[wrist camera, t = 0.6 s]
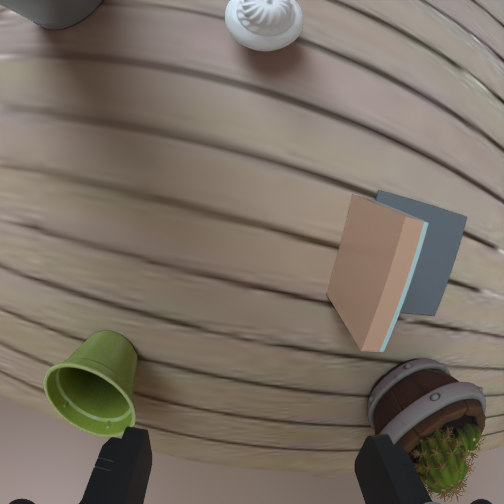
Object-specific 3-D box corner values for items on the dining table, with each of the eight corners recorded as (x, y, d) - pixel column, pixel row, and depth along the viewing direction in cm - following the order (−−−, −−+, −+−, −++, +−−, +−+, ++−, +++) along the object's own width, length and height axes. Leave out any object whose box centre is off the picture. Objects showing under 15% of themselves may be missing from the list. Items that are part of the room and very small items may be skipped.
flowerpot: (460, 373, 37) (533, 464, 18) (380, 437, 39) (426, 542, 20) (426, 318, 33) (530, 430, 14) (328, 398, 36) (376, 538, 17)
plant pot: (164, 339, 32) (147, 394, 23) (140, 395, 34) (124, 449, 26) (84, 301, 30) (46, 346, 22) (71, 363, 32) (42, 410, 24)
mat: (378, 189, 28) (379, 190, 28) (466, 216, 30) (467, 216, 29) (346, 305, 32) (346, 306, 32) (433, 314, 33) (434, 315, 33)
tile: (352, 194, 28) (405, 216, 19) (370, 198, 29) (428, 222, 19) (326, 293, 31) (360, 351, 22) (344, 296, 31) (383, 351, 22)
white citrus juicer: (306, 22, 23) (326, -10, 16) (277, 73, 25) (291, 50, 18) (244, -5, 22) (248, -43, 15) (212, 45, 23) (207, 14, 17)
